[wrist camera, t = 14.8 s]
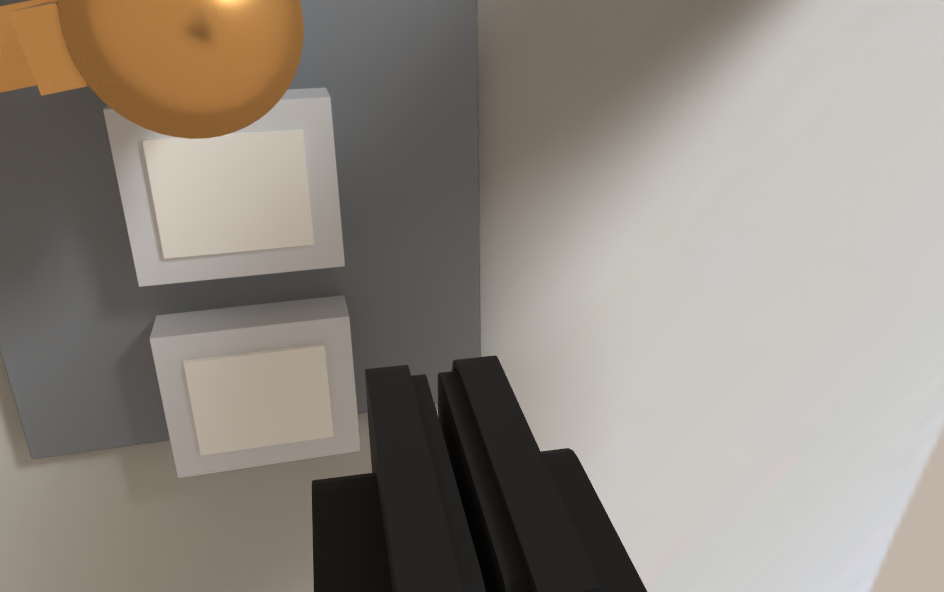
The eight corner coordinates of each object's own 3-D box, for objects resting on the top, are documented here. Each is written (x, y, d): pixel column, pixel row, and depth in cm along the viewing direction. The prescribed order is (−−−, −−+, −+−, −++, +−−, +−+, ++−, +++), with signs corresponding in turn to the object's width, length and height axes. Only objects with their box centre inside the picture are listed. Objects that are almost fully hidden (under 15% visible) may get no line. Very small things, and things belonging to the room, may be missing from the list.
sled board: (469, -55, 28) (545, -56, 20) (475, 394, 36) (533, 515, 28) (-101, -46, 24) (-266, -43, 17) (41, 455, 32) (-28, 613, 24)
